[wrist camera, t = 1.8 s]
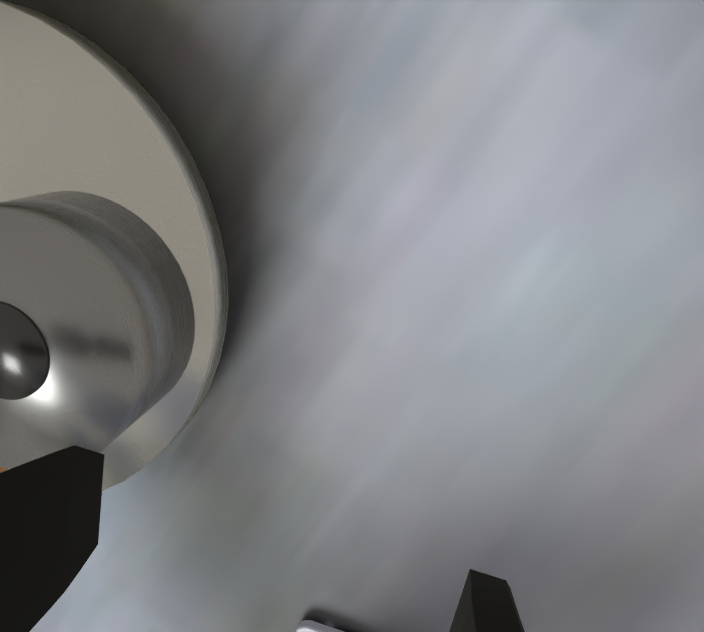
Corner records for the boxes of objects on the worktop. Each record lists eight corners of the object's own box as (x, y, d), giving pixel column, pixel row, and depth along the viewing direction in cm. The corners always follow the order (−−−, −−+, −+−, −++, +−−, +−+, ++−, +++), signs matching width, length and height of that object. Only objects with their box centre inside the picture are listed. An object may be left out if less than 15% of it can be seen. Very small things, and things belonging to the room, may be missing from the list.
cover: (208, 223, 18) (139, 251, 14) (182, 440, 20) (118, 508, 17) (-17, 166, 19) (-131, 180, 15) (-16, 380, 21) (-115, 433, 18)
